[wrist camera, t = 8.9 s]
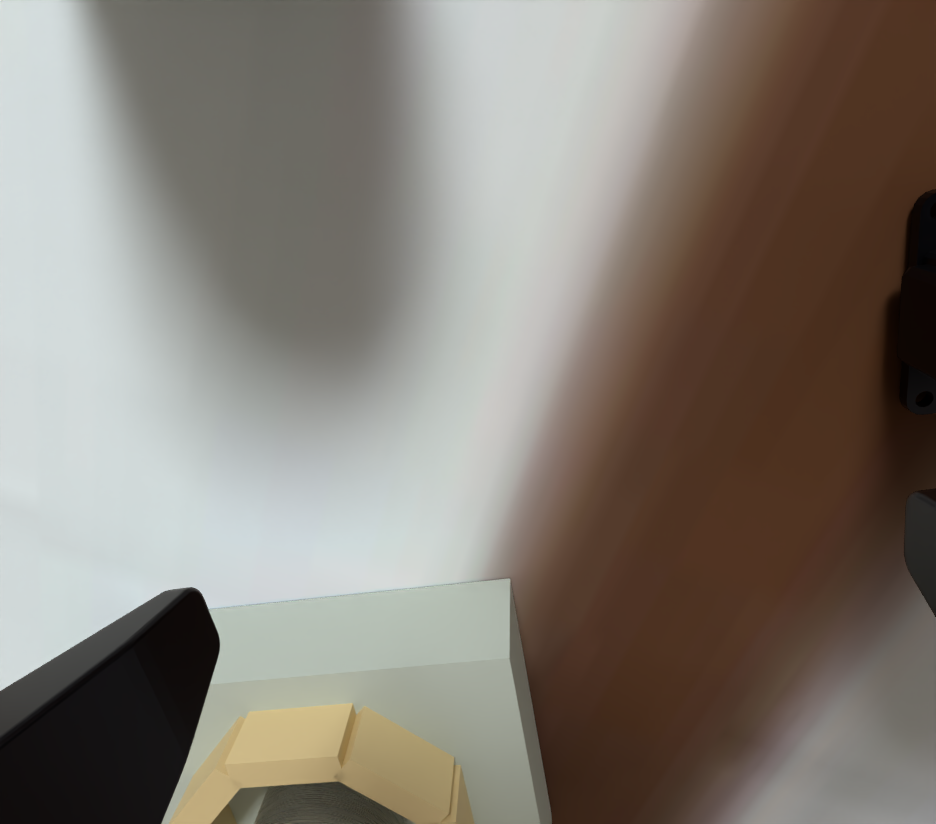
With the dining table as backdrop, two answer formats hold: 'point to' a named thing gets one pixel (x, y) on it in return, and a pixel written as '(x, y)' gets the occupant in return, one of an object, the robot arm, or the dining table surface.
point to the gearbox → (371, 708)
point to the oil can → (322, 806)
